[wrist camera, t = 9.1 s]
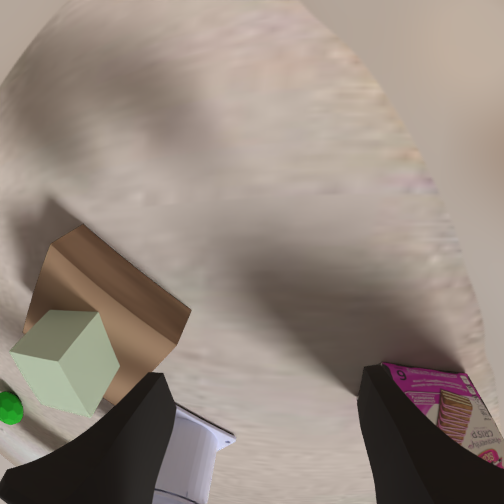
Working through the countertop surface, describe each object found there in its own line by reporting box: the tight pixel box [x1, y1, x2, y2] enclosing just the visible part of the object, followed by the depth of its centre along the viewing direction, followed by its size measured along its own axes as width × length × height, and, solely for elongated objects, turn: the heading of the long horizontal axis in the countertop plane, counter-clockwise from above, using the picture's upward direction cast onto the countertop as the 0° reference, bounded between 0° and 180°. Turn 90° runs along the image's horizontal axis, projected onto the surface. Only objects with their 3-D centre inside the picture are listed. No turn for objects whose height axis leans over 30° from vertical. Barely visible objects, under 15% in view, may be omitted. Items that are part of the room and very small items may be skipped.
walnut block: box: [23, 224, 192, 405], centre depth 20 cm, size 10×10×4 cm
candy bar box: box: [357, 362, 504, 469], centre depth 16 cm, size 11×5×16 cm, turn 75°
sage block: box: [9, 310, 120, 418], centre depth 16 cm, size 4×4×5 cm
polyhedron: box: [0, 391, 23, 425], centre depth 28 cm, size 5×5×5 cm
